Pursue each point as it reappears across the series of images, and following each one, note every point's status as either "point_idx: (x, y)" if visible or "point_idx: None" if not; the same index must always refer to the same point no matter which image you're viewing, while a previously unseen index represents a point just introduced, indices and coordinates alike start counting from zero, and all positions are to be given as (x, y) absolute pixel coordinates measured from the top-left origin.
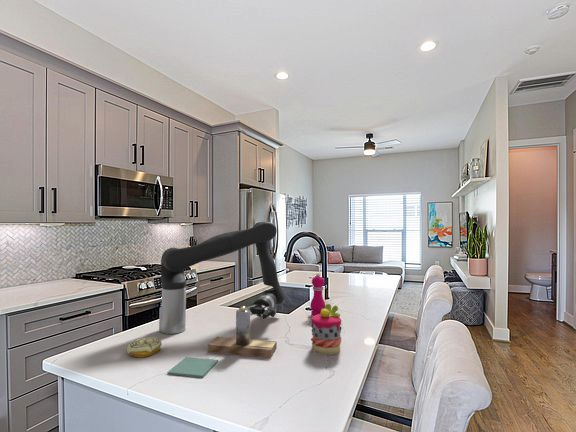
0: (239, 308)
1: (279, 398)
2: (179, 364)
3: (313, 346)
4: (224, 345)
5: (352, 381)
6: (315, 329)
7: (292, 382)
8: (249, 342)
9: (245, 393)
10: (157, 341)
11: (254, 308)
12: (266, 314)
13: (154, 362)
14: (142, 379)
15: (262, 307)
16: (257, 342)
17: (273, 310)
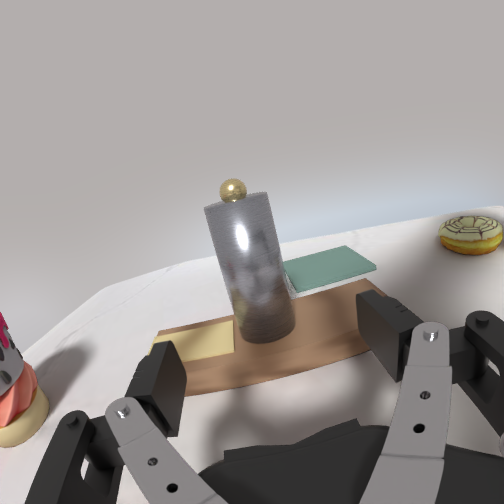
0: (491, 315)
1: (153, 286)
2: (353, 255)
3: (41, 394)
4: (315, 295)
5: (51, 333)
6: (11, 339)
7: (131, 308)
8: (239, 330)
9: (198, 276)
10: (461, 230)
11: (354, 437)
12: (143, 358)
13: (407, 246)
14: (361, 236)
15: (201, 477)
16: (211, 344)
17: (65, 420)
